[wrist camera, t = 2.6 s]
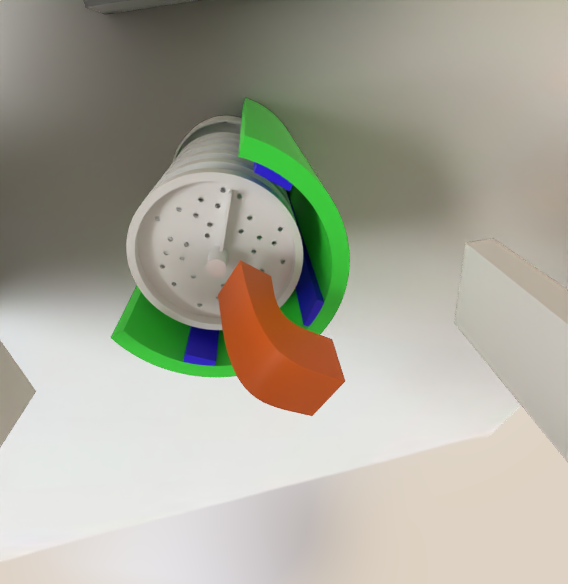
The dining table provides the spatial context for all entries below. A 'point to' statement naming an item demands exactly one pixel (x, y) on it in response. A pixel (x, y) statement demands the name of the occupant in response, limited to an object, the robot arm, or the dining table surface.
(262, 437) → the dining table surface
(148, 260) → the green-shelled ribbed roller
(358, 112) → the dining table surface
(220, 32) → the dining table surface
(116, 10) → the tray
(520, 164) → the dining table surface
